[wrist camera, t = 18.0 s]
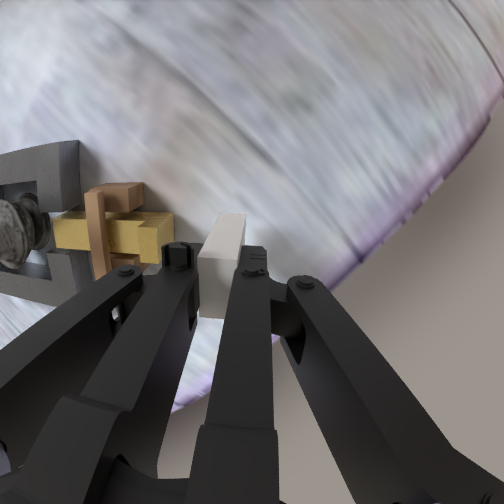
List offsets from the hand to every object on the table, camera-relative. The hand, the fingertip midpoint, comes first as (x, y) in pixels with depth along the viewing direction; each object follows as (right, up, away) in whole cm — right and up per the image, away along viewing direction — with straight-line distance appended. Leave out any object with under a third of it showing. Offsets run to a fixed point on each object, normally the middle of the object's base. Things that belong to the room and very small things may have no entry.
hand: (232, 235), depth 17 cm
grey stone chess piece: (-18, +2, +3) cm, 19 cm away
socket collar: (-18, +2, +2) cm, 19 cm away
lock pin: (-9, +1, +2) cm, 9 cm away
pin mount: (-8, +1, +2) cm, 8 cm away
